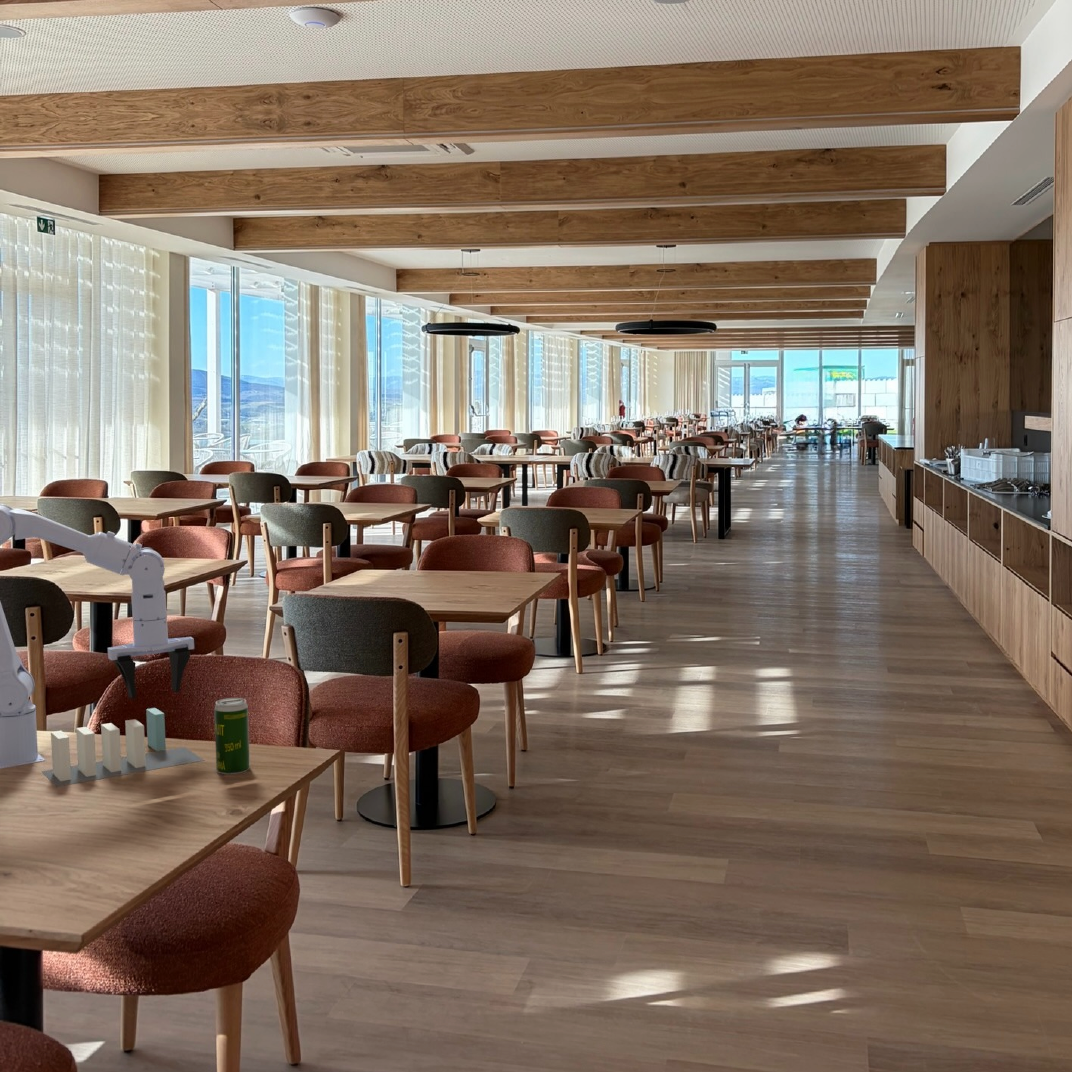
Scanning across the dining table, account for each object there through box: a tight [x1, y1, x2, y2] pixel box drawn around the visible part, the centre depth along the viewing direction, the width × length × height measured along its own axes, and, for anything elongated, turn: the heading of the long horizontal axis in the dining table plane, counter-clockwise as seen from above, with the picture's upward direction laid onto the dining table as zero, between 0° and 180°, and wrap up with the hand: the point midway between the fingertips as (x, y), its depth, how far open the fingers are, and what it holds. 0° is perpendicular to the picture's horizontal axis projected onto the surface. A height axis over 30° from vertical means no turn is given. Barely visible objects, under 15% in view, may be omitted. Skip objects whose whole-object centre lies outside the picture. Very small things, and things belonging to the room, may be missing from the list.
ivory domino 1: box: [50, 730, 71, 781], centre depth 191 cm, size 2×5×7 cm, turn 35°
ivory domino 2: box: [76, 726, 97, 777], centre depth 193 cm, size 2×5×7 cm, turn 35°
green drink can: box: [213, 697, 251, 775], centre depth 194 cm, size 5×5×12 cm
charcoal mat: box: [41, 746, 205, 788], centre depth 197 cm, size 10×24×1 cm, turn 126°
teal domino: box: [145, 707, 167, 752], centre depth 208 cm, size 2×5×7 cm, turn 35°
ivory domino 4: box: [124, 718, 146, 768], centre depth 198 cm, size 2×5×7 cm, turn 35°
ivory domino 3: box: [100, 722, 122, 772], centre depth 196 cm, size 2×5×7 cm, turn 35°
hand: (154, 694), depth 207 cm, fingers open, 7 cm apart
